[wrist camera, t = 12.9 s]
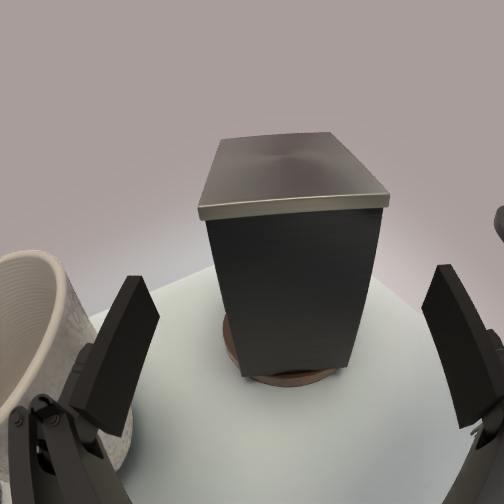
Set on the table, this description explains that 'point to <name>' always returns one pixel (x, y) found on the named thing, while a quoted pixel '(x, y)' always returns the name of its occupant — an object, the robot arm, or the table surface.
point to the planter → (42, 341)
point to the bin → (292, 248)
